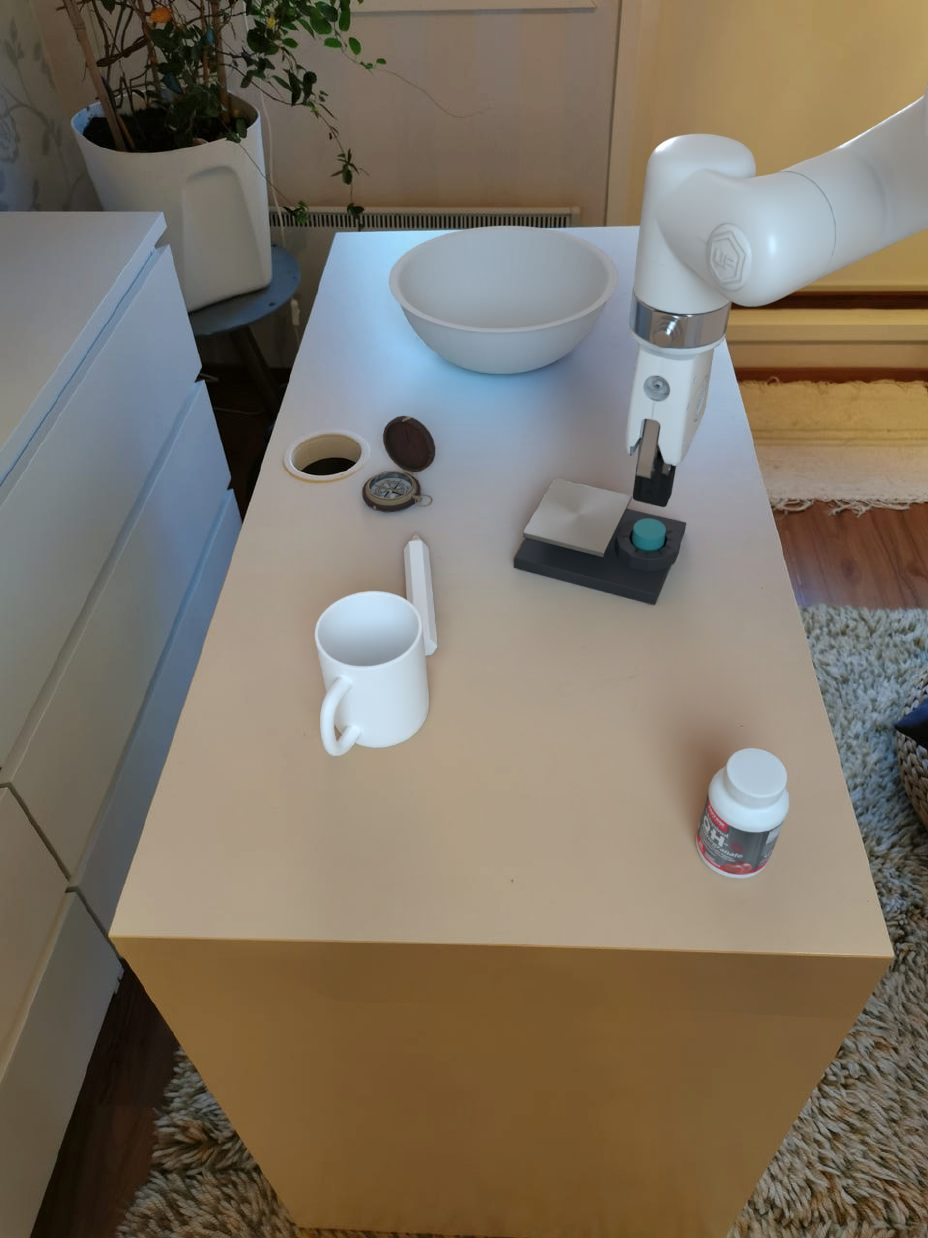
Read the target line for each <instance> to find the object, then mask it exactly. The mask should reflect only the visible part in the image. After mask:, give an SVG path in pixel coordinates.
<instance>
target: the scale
mask: <svg viewBox="0 0 928 1238" xmlns="http://www.w3.org/2000/svg"><path fill="white" fill-rule="evenodd" d="M642 519H655V520H658V521H660V522H661V523H663V524H664V526H665V528H666V533H665V540H664V544H663V546H662V547H661V548H660V549H658V550H654V551H645V550H641V549H639V548H637V547H636V546H635V545H634V544H633V542H632V536H633V528H634V525H635V523H636V522H638V521H639V520H642ZM686 527H687V522H685V521H681V520H676V519H673V518H670V517H669V518H668V517H664V516H660V515H656V514H652V513H647V512H645V511H638V510H635V509H630V508H627V510H626V512H625V514H624V516H623V518H622V520H621V523H620V525H619V527H618V529H617V531H616V533H615V535H614V537H613V539H612V541H611V543H610V545H609V547H608V549H607V551H606V554H605V556H604V557H600V556H597V555H593V554H589V553H585V552H581V551H577V550H573V549H569V548H565V547H561V546H557V545H553V544H549V543H545V542H541V541H537V540H533V539H529V538H525V537H524V539H523V541H522V543H521V545H520V546H519V548H518V550H517V552H516V553H515V555H514V557H513V569H516V570H520V571H524V572H526V573H527V572H529V573H531V574H534V575H539V576H543V577H546V578H550V579H554V580H558V581H561V582H565V583H566V582H567V583H569V584H573V585H577V586H580V587H584V588H588V589H591V590H595V591H599V592H604V593H607V594H611V595H614V596H619V597H623V598H626V599H629V600H634V601H637V602H640V603H645V604H648V605H653V606H656V604H657V601H658V599H659V597H660V594H661V592H662V589H663V587H664V584H665V582H666V581H667V577H668V575H669V573H670V570H671V567H672V566H673V565H674V564H676V562H677V559H678V556H679V554H680V549H681V543H682V541H683V538H684V536H685V533H686V529H687V528H686Z"/></svg>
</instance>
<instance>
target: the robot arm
mask: <svg viewBox="0 0 928 1238" xmlns="http://www.w3.org/2000/svg"><path fill="white" fill-rule="evenodd" d="M644 175H645V176H644V183H643V193H642V202H641V203H642V204H641V211H640V222H639V230H638V239H637V240H638V241H637V249H636V257H635V267H634V276H633V285H632V290H631V291H632V292H631V300H630V311H629V319H628V320H629V321H628V332H629V334H630V336H631V338H632V339H633V340H634V341H635V342H636V343H638V347H637V351H636V358H635V364H634V367H633V376H632V383H631V390H630V394H629V395H630V396H629V403H628V409H627V419H626V427H625V435H624V450H625V452H626V454H627V455H628V456H629V457H630V456H632V455H634V454H635V452H636V450H637V459H636V461H637V462H636V466H635V475H634V483H633V490H632V495H631V496H632V499H633V500H634V501H636V502H640V503H643V504H648V505H652V506H656V507H660V508H665V507H667V506H668V504H669V500H670V499H671V496H672V494H673V493H672V492H673V488H674V482H675V475H676V469H677V466H679V465H680V464H681V463H682V462H684V460H685V459H686V456H687V454H688V452H689V450H690V447H691V445H692V443H693V441H694V439H695V436H696V434H697V432H698V429H699V427H700V426H701V423H702V420H703V417H704V415H705V411H706V408H707V402H708V396H709V387H710V380H711V374H712V373H711V372H712V366H713V359H714V353H715V349H716V347H718V346H720V345H721V344H722V343H723V342H724V340H725V338H726V334H727V329H728V324H729V319H730V315H731V309H732V303H734V304H736V305H738V306H743V307H761V306H762V307H763V306H766V305H769V304H771V303H774V302H777V301H778V300H781V299H783V298H785V297H787V296H789V295H791V294H793V293H795V292H797V291H800V290H801V289H803V288H805V287H808V286H809V285H812V284H813V283H815V282H817V281H818V280H822V279H823V278H825V277H827V276H829V275H831V274H833V273H835V272H837V271H839V270H841V269H844V268H846V267H848V266H851V265H853V264H856V263H857V262H860V261H861V260H864V259H865V258H867V257H870V256H871V255H873V254H875V253H877V252H880V251H882V250H883V249H886V248H888V247H891V246H892V245H894V244H896V243H899V242H901V241H903V240H905V239H907V238H909V237H911V236H913V235H916V234H918V233H920V232H922V231H924V230H926V229H928V82H927V83H926V86H925V91H924V94H923V95H922V96H921V97H919V98H918V99H916V100H914V101H913V102H911V103H910V104H909V105H907V106H905V107H903V108H902V109H901V110H899V111H897V112H895V113H894V114H893V115H891V116H889V117H887V118H886V119H883V121H881V122H879V123H878V124H876V125H874V126H872V127H871V128H868V129H867V130H865V131H864V132H862V133H860V134H858V135H857V136H855V137H853V138H851V139H850V140H848V141H846V142H844V143H842V144H841V145H839V146H837V147H835V148H833V149H830V150H828V151H826V152H823V153H822V154H819V155H816V156H813V157H811V158H808V159H805V160H802V161H800V162H798V163H796V164H793V165H791V166H789V167H786V168H784V169H781V170H778V171H776V172H774V173H769V174H765V175H759V176H756V175H757V165H756V160H755V157H754V155H753V153H752V151H751V150H750V149H749V148H748V147H747V146H746V145H745V144H743V143H742V142H741V141H738V140H736V139H733V138H731V137H727V136H723V135H718V134H711V133H689V134H682V135H678V136H677V135H676V136H674V137H673V136H672V137H670V138H668V139H666V140H664V141H663V142H661V143H660V144H659V145H657V146H656V147H655V148H654V149H653V151H652V153H651V154H650V155H649V157H648V160H647V164H646V170H645V174H644Z"/></svg>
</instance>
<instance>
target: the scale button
mask: <svg viewBox="0 0 928 1238" xmlns="http://www.w3.org/2000/svg"><path fill="white" fill-rule="evenodd" d="M665 533H666V528H665V526H664V524H663V523H661V522H660V521H658V520H655V519H642V520H639V521H638V522H636V523H635V525H634V528H633V536H632V542H633V544H634V545H635V546H636V547H637V548H639V549H641V550H645V551H654V550H658V549H660V548H661V547H662V546H663V544H664V540H665Z"/></svg>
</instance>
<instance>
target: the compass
mask: <svg viewBox="0 0 928 1238" xmlns="http://www.w3.org/2000/svg"><path fill="white" fill-rule="evenodd" d="M382 443H383V446H384V449H385V452H386V453H387V455H388V458H390V459H391V461H392V462H393V463H394V464H395V465H396V466H398V467H399V468H400V469H402V470H401V471H398V470H387V471H383V472H380V473H377V474H376V475H373V476H372V477H369V479H368V480H367V481H366V482H365V483H364V484H363V487H362V491H361V494H362V499H363V501H364V503H365V504H366V505H367V506H368V507H369V508H371V509H374V510H375V511H380V512H383V513H394V512H400V511H404V510H406V509H408V508H410V507H411V506H413V505H415V504H416V505H417V506H419V507H428V506H430V505H431V504H432V503H433V502H434V501H433V498H432V496H431V495H429V494H422V493H421V489H422V488H421V483H420V482H419V480H418V479H417V478H416V477H415V476H414V473H421V472H422V471H425V470H426V469H428V468H429V467H430V466H431V464H432V463H433V462H434V460H435V457H436V444H435V440H434V438H433V436H432V434H431V433H430V431H429V430H428V428H427V427H426V426H425V425H424V424H423V423H422V422H421V421H419V420H418V419H416V418H414V417H411V416H410V415H409V416H408V415H399V416H396V417H394V418H393V419H391V420H390V421H389V422H387V424H386V425H385V426H384V429H383V432H382ZM422 497H428V498H429V499H430V501H429V503H427V504H420V503H418V502H421V501H422Z"/></svg>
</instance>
